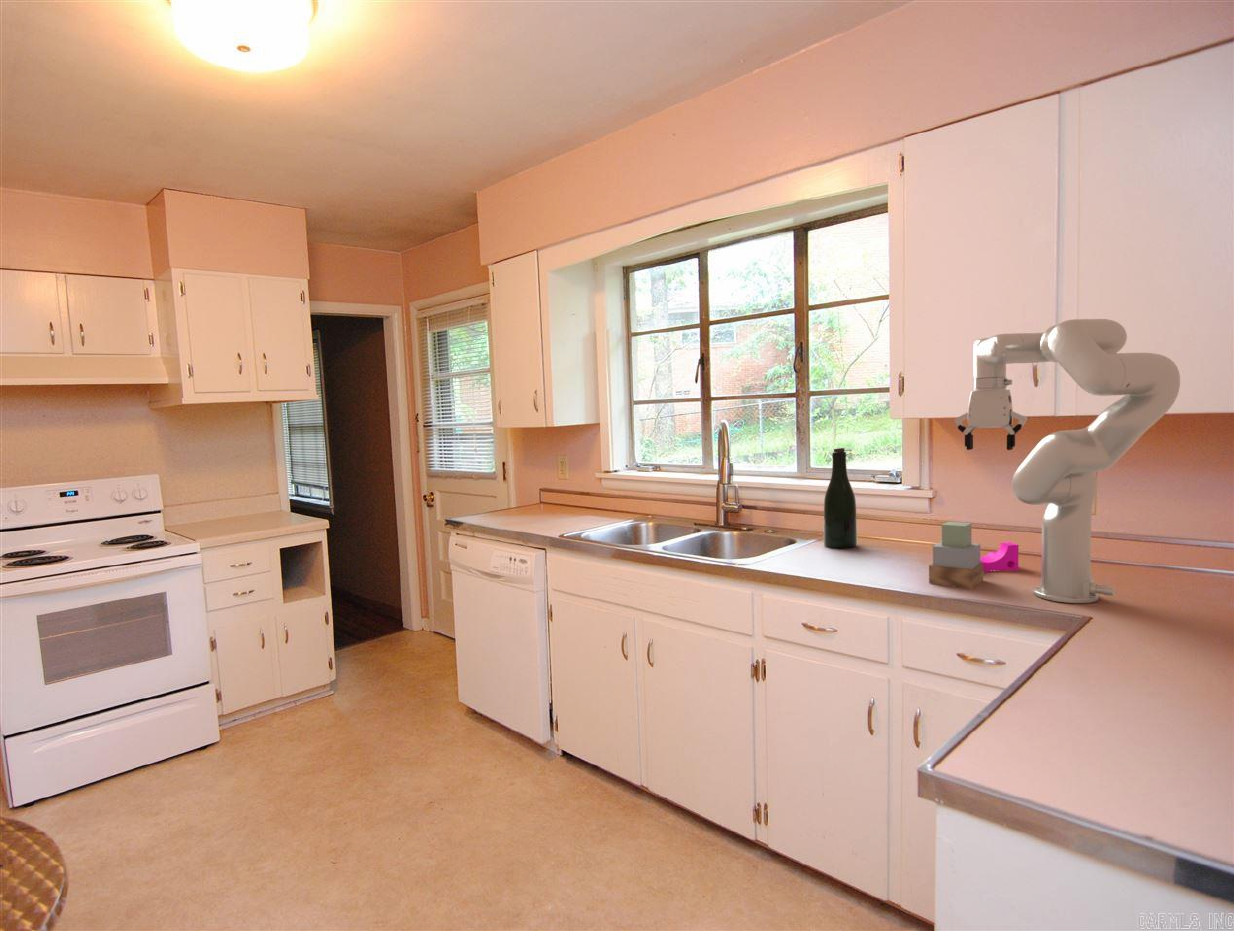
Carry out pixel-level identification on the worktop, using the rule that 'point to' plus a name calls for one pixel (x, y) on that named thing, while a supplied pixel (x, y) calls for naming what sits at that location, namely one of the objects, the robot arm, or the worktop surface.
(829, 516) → the dark green wine bottle
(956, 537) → the sage cube
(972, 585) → the tower bottom
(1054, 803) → the worktop surface
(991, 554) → the toy block
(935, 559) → the tower top
